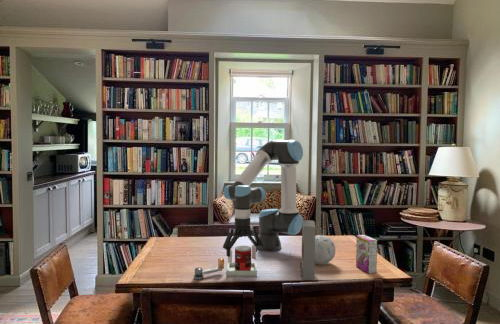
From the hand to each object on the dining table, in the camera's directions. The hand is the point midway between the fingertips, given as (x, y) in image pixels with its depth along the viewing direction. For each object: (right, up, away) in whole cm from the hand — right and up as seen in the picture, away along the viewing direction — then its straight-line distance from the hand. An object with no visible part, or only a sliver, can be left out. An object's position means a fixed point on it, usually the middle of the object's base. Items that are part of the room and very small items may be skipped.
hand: (242, 260), depth 181 cm
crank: (-15, -4, -6) cm, 17 cm away
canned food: (0, -5, +1) cm, 5 cm away
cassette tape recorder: (+31, -6, -3) cm, 32 cm away
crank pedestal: (-20, -6, -9) cm, 23 cm away
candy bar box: (+62, -6, +6) cm, 62 cm away
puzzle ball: (+41, -5, +14) cm, 43 cm away
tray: (0, -5, 0) cm, 5 cm away
